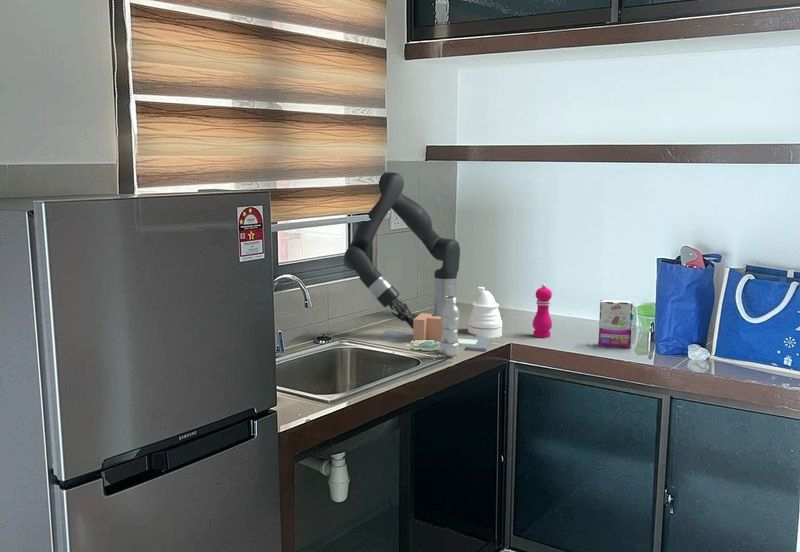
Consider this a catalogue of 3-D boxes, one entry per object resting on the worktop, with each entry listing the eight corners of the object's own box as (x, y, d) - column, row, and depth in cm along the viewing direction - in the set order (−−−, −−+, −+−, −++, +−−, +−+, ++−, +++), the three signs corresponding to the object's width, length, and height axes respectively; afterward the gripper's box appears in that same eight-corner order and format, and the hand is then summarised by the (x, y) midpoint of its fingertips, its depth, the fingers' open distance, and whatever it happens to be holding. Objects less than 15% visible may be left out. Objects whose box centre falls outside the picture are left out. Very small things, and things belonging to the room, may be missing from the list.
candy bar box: (629, 345, 276) (632, 300, 274) (630, 348, 271) (633, 303, 269) (597, 343, 279) (600, 298, 276) (597, 346, 274) (600, 301, 271)
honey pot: (473, 338, 282) (475, 290, 280) (463, 331, 295) (465, 285, 292) (506, 337, 285) (508, 290, 282) (495, 330, 297) (497, 284, 295)
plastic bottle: (446, 359, 251) (447, 299, 248) (435, 354, 257) (437, 296, 254) (462, 357, 254) (464, 298, 251) (452, 352, 260) (453, 294, 257)
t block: (420, 334, 283) (421, 313, 282) (457, 337, 280) (458, 315, 278) (412, 341, 272) (413, 319, 270) (451, 344, 268) (452, 322, 267)
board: (386, 332, 289) (386, 330, 289) (492, 340, 280) (492, 337, 280) (374, 342, 273) (374, 340, 273) (486, 351, 263) (486, 348, 263)
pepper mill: (555, 336, 289) (557, 283, 286) (544, 339, 284) (547, 285, 281) (538, 333, 294) (541, 281, 291) (528, 335, 289) (530, 283, 286)
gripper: (386, 287, 271) (418, 324, 270) (395, 282, 284) (427, 317, 282) (371, 301, 273) (403, 337, 272) (381, 295, 286) (412, 330, 284)
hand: (415, 327), depth 277 cm, fingers closed
